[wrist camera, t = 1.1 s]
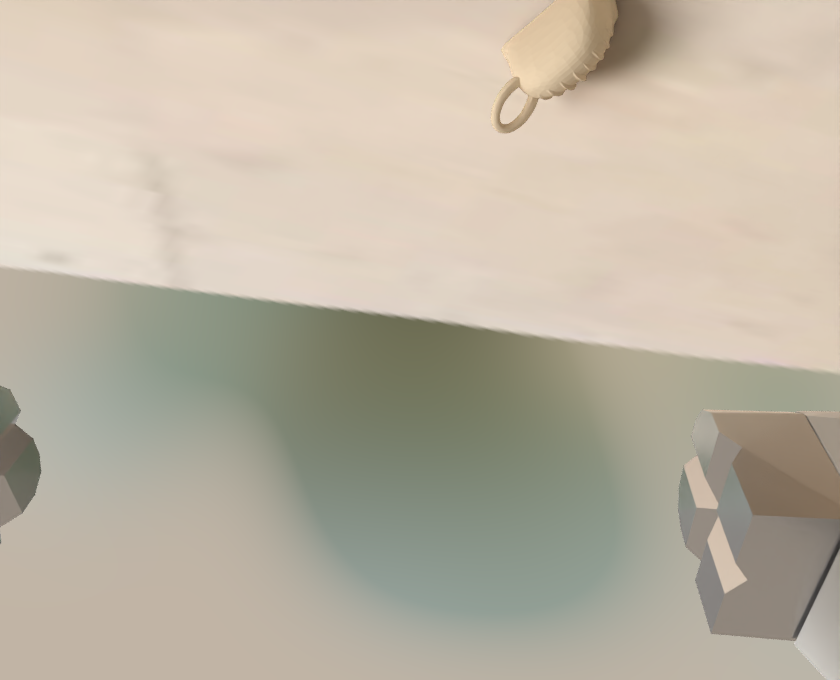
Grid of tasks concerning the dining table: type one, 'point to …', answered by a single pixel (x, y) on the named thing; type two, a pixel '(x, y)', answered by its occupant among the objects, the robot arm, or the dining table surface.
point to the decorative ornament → (555, 53)
